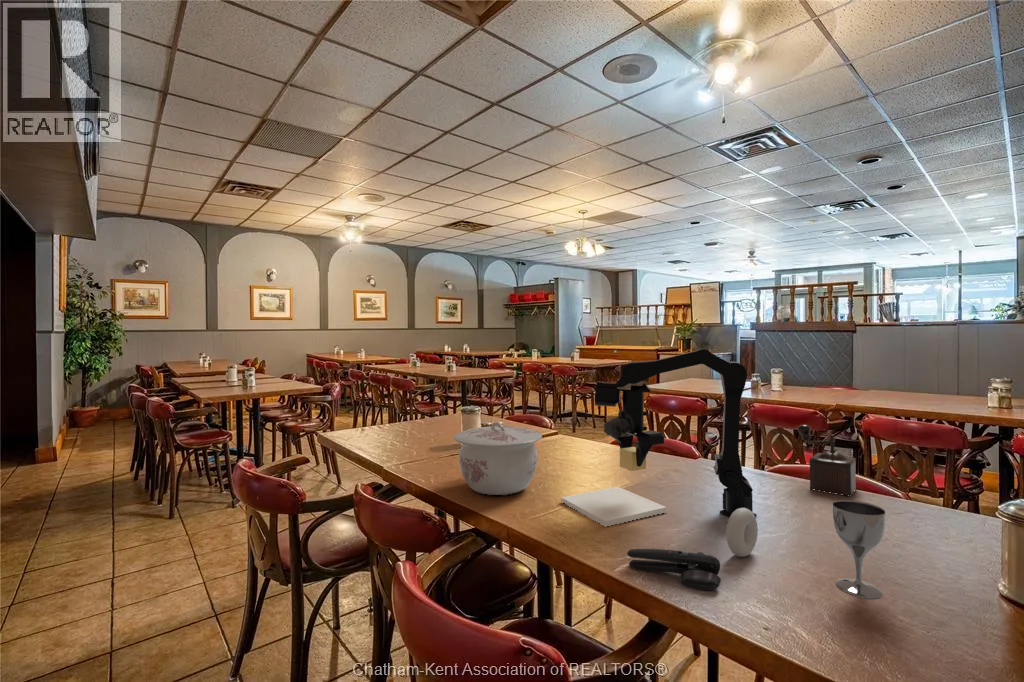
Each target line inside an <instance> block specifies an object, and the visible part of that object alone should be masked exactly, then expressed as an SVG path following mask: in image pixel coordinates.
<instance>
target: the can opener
mask: <svg viewBox="0 0 1024 682" xmlns="http://www.w3.org/2000/svg"><path fill="white" fill-rule="evenodd" d="M626 555H627V556H629V557H630V558H634V559H633V560H630V561H629V564H628V566H629V567H630V566H631V567H630V568H632V567H633V568H632V569H634V568H636V569H635V570H639V569H640V570H639V571H643V570H645V571H644V572H651V571H652V573H654V572H655V573H669V574H671V573H673V574H679V575H680V580H681V584H682V585H684V586H685V587H687V588H689V589H695V590H700V591H713V590H717V589H718V588H719V587H720V584H721V583H722V582H721V581H722V579H721V577H720V576H719V573H720V571H721V563H720V560H719V559H718V558H717V557H715V556H713V555H709V554H705V553H704V552H702V551H698V552H689V551H688V550H685V549H682V550H674V549H673V550H672V549H664V548H663V549H659V548H657V549H656V548H631V549H629V550H628V551H627V554H626ZM643 559H644V560H643Z"/></svg>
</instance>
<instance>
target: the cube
mask: <svg viewBox="0 0 1024 682" xmlns="http://www.w3.org/2000/svg"><path fill="white" fill-rule="evenodd" d="M619 467H620V468H622V469H625V470H627V471H631V472H633V471H640V470H646V469H647V468H646V467H647V456H646V457H645V459H644V461H643V463H642V465H641V466H639V467H638V466H637V461H636V447H635V446H632V447H628V448H620V447H619Z"/></svg>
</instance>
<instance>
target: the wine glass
mask: <svg viewBox="0 0 1024 682" xmlns="http://www.w3.org/2000/svg"><path fill="white" fill-rule="evenodd" d="M831 509H832V519H833V525H834V529H835V532H836V535H837V536H838V538H839V539H840V540H841V541H842V543H843V544H844V545H845V546H846V547H847V548H848V549H849V550H850V552H851V554H852V557H853V560H854V566H855V578H846V577H845V578H839V579H837V580H836V581H835V586H836V587H837V589H839V590H841V591H842V592H844V593H846V594H848V595H850V596H853V597H857V598H861V599H866V600H867V599H868V600H878V599H881V598H883V596H884V592H883V591H882V590H881V589H880V588H879V587H877V586H875V585H874V584H871V583H869V582H867V581H863V580H862V567H863V561H864V559H865V557H866V555H868V553H869V552H871V551H872V550H874V549H875V548H876V547H878V545H880V544H881V542H882V540H883V537H884V535H885V529H886V519H887V518H886V515H887V514H886V510H885V509H884V508H883V507H880V506H878V505H876V504H872V503H870V502H865V501H860V500H853V499H851V500H850V499H839V500H838V499H837V500H835V501H833V502H832V507H831Z"/></svg>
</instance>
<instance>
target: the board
mask: <svg viewBox="0 0 1024 682" xmlns="http://www.w3.org/2000/svg"><path fill="white" fill-rule="evenodd" d="M560 499H561V501H560V503H561V502H563V503H565V504H566V505H568V506H570V507H572V508H573V509H572V508H571V509H572V510H574V509H575V510H577V511H578V512H577V511H576V512H577V513H579V512H580V513H579V514H581V513H582V514H581V515H583V514H584V515H586V516H587V518H588V517H589V518H588V519H590V518H591V519H590V520H592V521H593V520H594V521H593V522H595V521H596V522H595V523H597V522H598V523H597V524H599V523H600V524H599V525H601V526H602V525H603V526H602V527H604V526H605V527H604V528H608V527H607V526H609V527H612V526H611V525H613V526H616V525H615V524H617V525H621V524H625V523H624V522H626V523H629V522H628V521H630V522H633V521H632V520H634V521H637V520H636V519H638V520H641V519H640V518H643V519H645V518H644V517H647V518H649V517H648V516H651V517H654V516H653V515H655V516H658V515H657V514H659V515H663V514H662V513H664V514H667V506H664V505H663V504H660V503H657V502H654V501H652V500H650V499H648V498H646V497H643V496H641V495H639V494H636V493H634V492H631V491H629V490H626V489H624V488H622V487H620V486H613V487H607V488H604V489H603V488H602V489H598V490H591V491H587V492H581V493H577V494H572V495H568V496H567V495H566V496H561V497H560ZM563 503H562V504H563ZM565 504H564V505H565ZM566 505H565V506H566ZM568 506H567V507H568ZM570 507H569V508H570ZM575 510H574V511H575ZM584 515H583V516H584ZM586 516H585V517H586ZM620 523H621V524H620Z"/></svg>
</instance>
